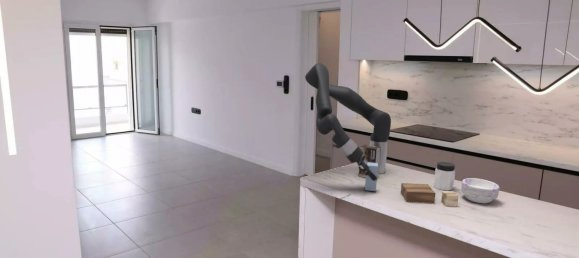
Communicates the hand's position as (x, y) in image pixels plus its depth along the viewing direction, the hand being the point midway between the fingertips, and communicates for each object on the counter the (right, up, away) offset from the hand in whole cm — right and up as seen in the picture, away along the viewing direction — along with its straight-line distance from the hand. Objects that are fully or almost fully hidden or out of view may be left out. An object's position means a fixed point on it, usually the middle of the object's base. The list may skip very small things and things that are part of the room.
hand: (375, 177), depth 186 cm
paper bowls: (+45, -9, -6) cm, 46 cm away
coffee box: (+1, -2, +23) cm, 23 cm away
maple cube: (+29, -10, -13) cm, 33 cm away
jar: (+35, -6, +9) cm, 37 cm away
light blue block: (-2, -5, +2) cm, 6 cm away
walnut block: (+17, -9, -7) cm, 20 cm away
